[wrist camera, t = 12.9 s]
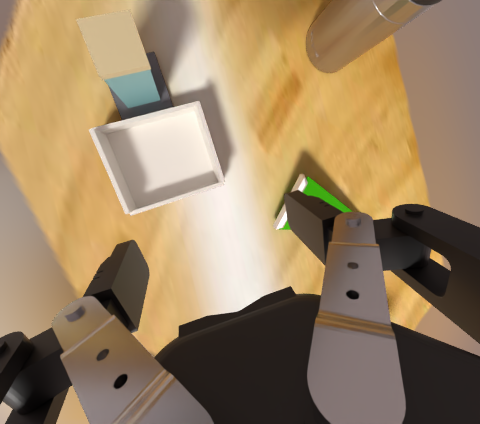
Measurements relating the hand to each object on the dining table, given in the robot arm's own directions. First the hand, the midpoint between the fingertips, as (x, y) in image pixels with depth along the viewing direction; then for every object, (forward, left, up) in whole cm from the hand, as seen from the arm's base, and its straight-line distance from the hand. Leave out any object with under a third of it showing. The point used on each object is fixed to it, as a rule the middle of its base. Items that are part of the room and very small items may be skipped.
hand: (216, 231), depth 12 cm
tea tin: (+3, -18, -28) cm, 33 cm away
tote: (+3, -6, -29) cm, 29 cm away
